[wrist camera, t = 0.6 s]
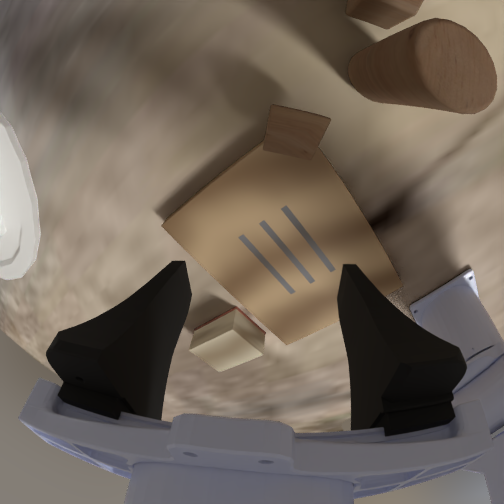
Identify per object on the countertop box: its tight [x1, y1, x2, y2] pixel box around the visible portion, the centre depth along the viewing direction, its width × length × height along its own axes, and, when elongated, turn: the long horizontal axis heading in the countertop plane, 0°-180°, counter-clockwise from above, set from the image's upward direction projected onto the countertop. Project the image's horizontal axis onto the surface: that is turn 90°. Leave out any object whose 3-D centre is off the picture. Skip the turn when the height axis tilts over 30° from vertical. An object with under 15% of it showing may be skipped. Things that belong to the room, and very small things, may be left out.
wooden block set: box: [263, 0, 497, 160], centre depth 10 cm, size 18×9×10 cm, turn 170°
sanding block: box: [189, 306, 266, 372], centre depth 29 cm, size 5×6×3 cm
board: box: [162, 141, 403, 345], centre depth 24 cm, size 17×13×1 cm
